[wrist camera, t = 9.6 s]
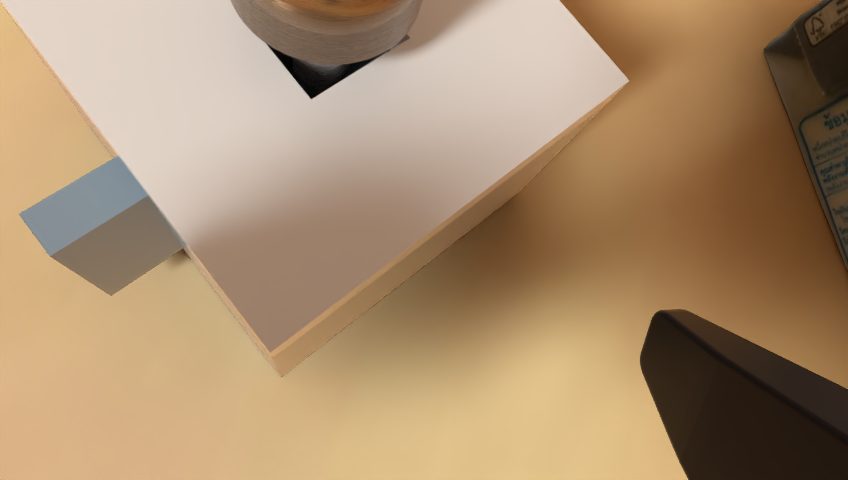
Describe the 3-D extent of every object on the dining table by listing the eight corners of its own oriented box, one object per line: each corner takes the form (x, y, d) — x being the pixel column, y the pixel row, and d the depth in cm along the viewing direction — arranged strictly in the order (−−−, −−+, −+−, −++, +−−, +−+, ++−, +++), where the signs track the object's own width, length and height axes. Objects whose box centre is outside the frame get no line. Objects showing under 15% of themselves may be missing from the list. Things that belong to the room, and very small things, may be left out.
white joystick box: (518, 193, 20) (629, 80, 13) (217, 427, 16) (161, 434, 10) (342, -19, 21) (363, -225, 14) (19, 162, 17) (-155, 2, 11)
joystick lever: (482, 175, 19) (664, -61, 9) (288, 320, 17) (277, 199, 7) (337, 1, 19) (375, -381, 10) (132, 118, 17) (-61, -231, 8)
